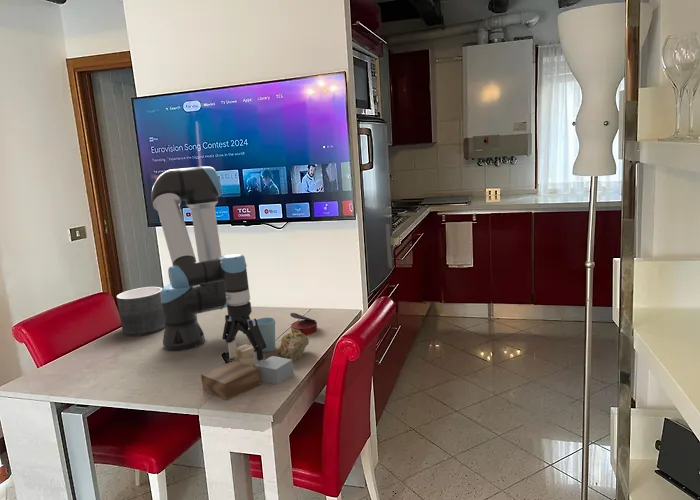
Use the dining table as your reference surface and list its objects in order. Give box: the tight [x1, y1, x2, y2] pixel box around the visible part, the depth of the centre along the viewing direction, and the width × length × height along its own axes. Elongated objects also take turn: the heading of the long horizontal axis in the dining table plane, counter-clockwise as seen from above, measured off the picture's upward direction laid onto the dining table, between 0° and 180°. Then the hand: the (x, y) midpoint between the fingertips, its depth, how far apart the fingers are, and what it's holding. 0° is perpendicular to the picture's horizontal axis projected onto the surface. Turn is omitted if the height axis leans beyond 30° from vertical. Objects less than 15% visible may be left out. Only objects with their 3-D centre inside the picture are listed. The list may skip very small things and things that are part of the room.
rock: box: [276, 332, 309, 363], centre depth 179 cm, size 12×9×10 cm
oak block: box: [233, 343, 255, 367], centre depth 175 cm, size 5×5×6 cm
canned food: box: [289, 312, 318, 336], centre depth 203 cm, size 11×10×10 cm
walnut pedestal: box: [200, 361, 261, 401], centre depth 159 cm, size 12×12×5 cm
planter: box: [116, 286, 165, 337], centre depth 221 cm, size 18×18×16 cm
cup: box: [256, 317, 276, 353], centre depth 187 cm, size 8×8×10 cm
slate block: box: [254, 355, 295, 386], centre depth 163 cm, size 8×8×5 cm
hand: (246, 364), depth 175 cm, fingers open, 13 cm apart
